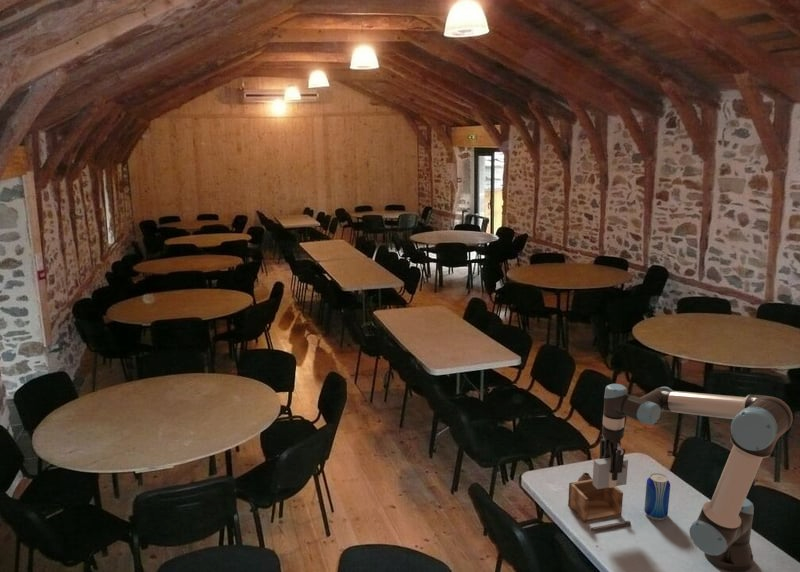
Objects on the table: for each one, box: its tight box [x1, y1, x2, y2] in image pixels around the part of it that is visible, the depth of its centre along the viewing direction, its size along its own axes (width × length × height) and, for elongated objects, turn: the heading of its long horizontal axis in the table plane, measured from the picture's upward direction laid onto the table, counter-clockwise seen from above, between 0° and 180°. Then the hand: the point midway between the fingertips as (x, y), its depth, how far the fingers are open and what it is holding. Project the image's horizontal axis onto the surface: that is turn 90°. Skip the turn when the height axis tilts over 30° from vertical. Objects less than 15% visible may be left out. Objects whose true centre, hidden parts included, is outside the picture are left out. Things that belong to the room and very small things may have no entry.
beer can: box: [643, 472, 671, 521], centre depth 250 cm, size 8×8×16 cm
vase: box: [576, 472, 593, 482], centre depth 266 cm, size 7×7×9 cm
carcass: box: [567, 478, 632, 533], centre depth 251 cm, size 18×16×10 cm
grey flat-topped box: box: [592, 456, 629, 489], centre depth 242 cm, size 5×12×10 cm, turn 105°
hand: (609, 483), depth 243 cm, fingers closed on grey flat-topped box, 3 cm apart
